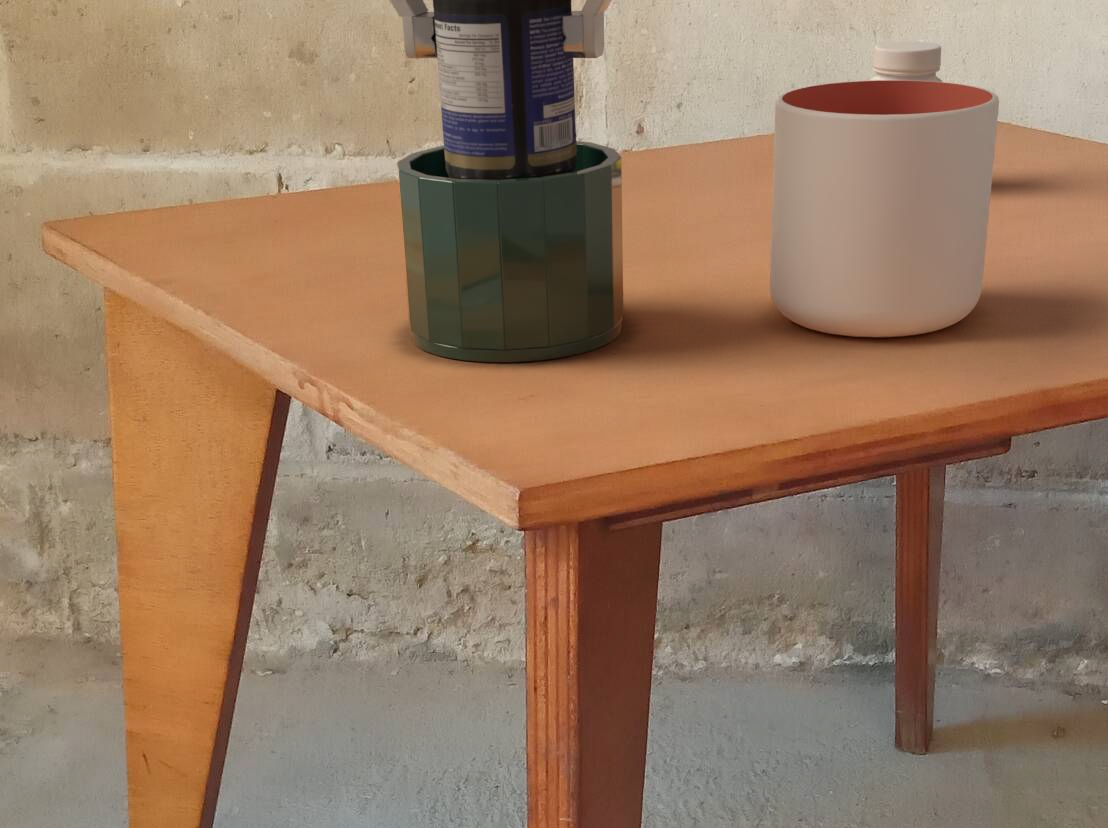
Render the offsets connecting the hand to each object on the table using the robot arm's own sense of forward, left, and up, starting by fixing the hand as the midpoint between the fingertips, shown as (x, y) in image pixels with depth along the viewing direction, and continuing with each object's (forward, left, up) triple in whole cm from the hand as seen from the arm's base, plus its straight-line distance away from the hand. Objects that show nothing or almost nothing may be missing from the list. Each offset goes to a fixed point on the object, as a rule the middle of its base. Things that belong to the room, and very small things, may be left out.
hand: (505, 56), depth 76 cm
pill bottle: (0, 0, -5) cm, 5 cm away
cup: (-16, -5, -13) cm, 21 cm away
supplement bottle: (-15, -34, -13) cm, 39 cm away
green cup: (0, 0, -12) cm, 12 cm away
